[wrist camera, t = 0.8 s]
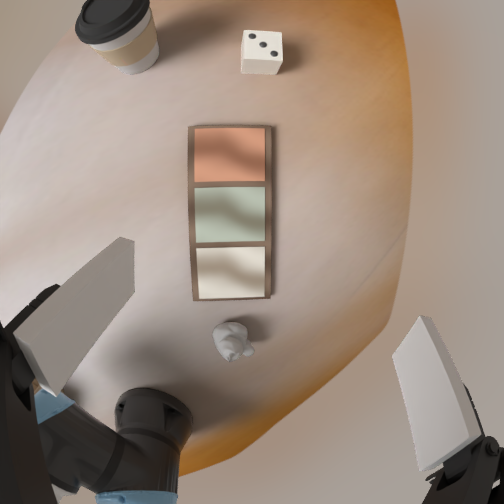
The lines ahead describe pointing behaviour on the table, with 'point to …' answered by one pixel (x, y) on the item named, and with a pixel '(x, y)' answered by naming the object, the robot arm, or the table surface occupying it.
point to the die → (261, 52)
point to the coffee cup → (120, 33)
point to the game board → (230, 211)
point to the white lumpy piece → (232, 341)
